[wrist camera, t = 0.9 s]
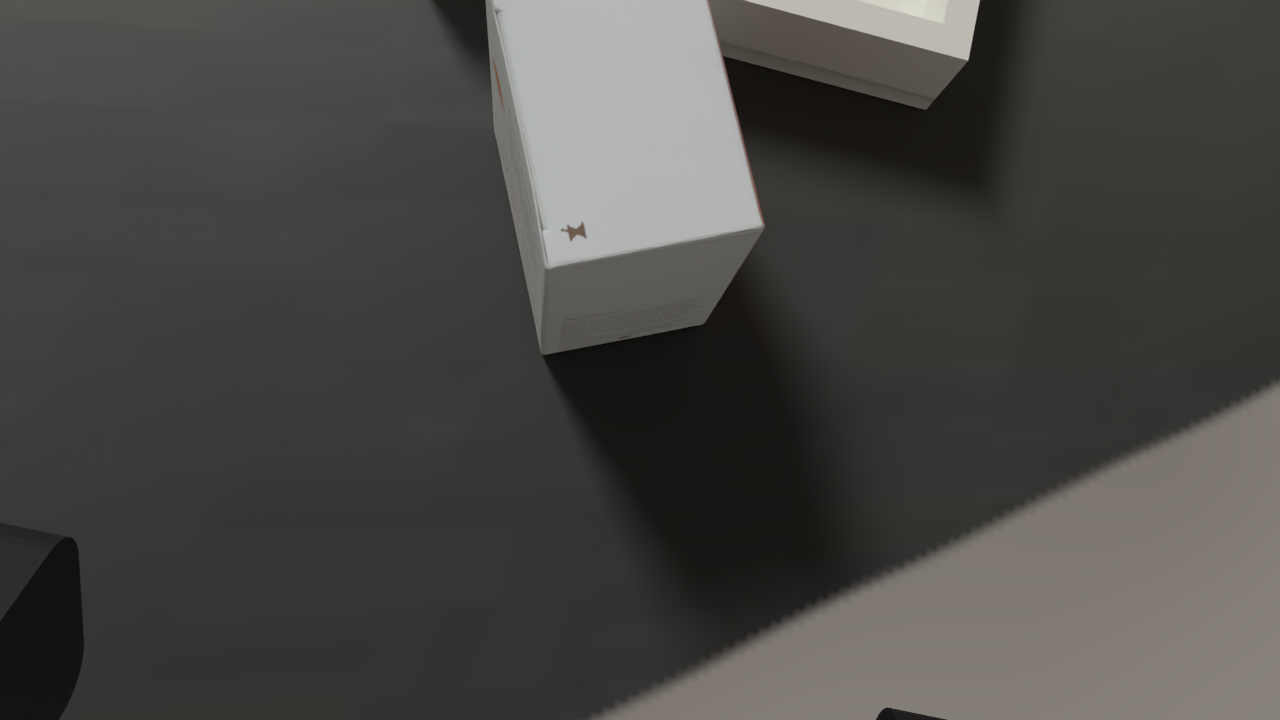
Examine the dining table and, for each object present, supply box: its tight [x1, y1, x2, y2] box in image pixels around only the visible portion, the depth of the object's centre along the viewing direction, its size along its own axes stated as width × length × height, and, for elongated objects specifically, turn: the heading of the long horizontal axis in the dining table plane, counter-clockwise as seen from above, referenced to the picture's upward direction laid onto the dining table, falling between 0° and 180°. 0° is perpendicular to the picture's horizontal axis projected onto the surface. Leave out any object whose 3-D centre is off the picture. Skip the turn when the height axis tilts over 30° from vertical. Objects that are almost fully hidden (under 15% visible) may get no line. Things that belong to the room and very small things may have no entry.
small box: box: [486, 0, 765, 355], centre depth 35 cm, size 8×6×10 cm
